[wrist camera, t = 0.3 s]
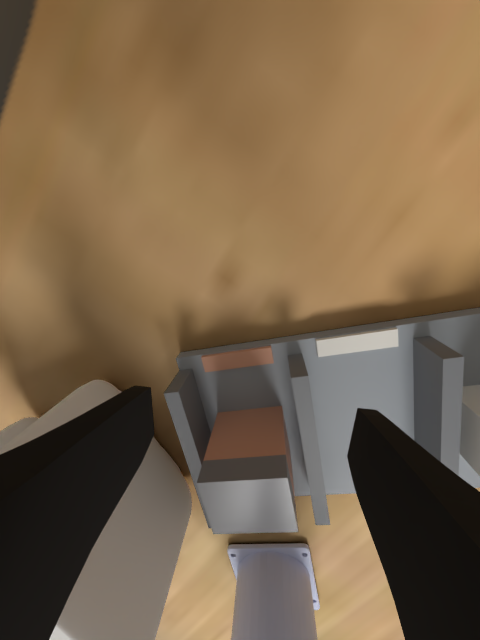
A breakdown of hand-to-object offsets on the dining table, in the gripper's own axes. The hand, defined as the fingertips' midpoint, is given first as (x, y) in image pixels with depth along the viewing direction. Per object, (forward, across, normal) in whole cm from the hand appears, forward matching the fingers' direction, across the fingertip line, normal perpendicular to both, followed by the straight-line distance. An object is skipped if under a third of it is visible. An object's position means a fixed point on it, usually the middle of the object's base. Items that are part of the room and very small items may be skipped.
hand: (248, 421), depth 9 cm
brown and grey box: (+9, 0, +8) cm, 12 cm away
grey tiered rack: (+10, -8, +6) cm, 14 cm away
